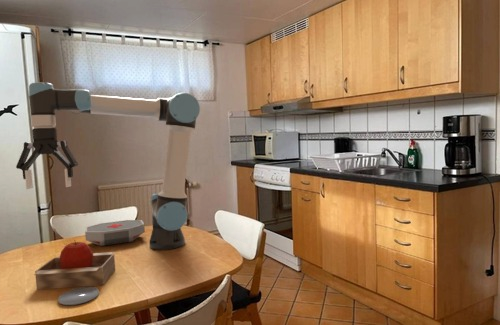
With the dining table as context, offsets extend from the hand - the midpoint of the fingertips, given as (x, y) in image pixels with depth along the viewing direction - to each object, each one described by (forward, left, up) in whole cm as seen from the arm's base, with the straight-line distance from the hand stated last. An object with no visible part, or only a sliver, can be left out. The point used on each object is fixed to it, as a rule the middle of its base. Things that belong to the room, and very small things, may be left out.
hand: (49, 187), depth 129 cm
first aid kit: (-11, -35, -31) cm, 48 cm away
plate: (-17, +24, -31) cm, 43 cm away
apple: (-11, +9, -31) cm, 34 cm away
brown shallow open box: (-11, +9, -31) cm, 34 cm away
